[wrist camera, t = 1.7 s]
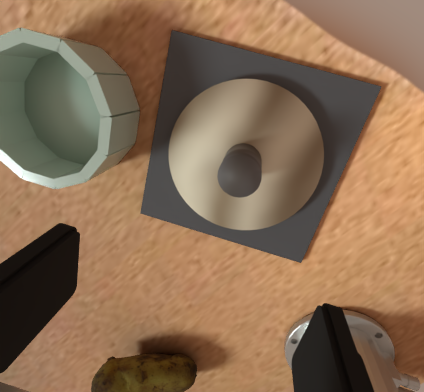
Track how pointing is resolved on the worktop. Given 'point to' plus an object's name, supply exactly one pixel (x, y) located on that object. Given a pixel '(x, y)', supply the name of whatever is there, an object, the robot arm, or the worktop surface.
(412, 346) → the worktop surface
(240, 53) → the mat
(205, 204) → the lid
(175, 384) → the potato
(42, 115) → the bowl
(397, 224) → the worktop surface
